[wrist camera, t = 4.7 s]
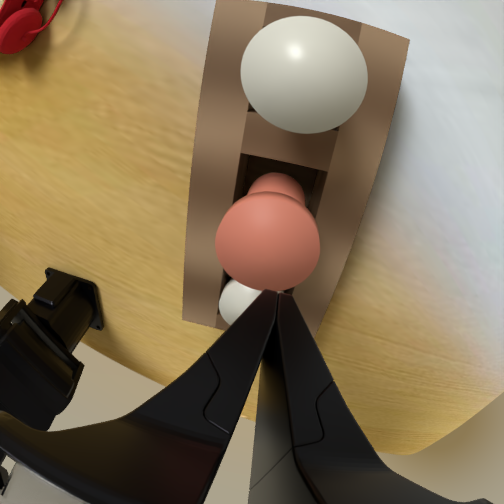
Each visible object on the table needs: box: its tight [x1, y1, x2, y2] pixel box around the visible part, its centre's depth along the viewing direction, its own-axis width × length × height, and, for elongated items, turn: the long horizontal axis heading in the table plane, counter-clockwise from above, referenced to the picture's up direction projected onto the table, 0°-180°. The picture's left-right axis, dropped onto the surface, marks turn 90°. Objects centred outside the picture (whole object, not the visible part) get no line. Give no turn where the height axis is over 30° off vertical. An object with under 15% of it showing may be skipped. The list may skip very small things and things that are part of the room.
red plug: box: [215, 172, 320, 291], centre depth 14 cm, size 4×4×5 cm
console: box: [182, 0, 410, 338], centre depth 18 cm, size 20×9×4 cm, turn 170°
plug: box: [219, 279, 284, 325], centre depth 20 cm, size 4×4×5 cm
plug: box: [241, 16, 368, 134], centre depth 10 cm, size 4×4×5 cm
